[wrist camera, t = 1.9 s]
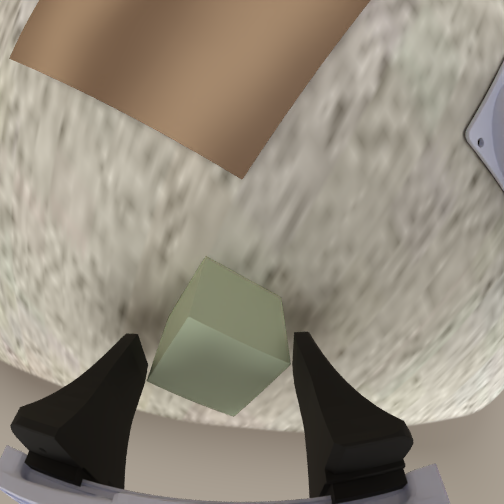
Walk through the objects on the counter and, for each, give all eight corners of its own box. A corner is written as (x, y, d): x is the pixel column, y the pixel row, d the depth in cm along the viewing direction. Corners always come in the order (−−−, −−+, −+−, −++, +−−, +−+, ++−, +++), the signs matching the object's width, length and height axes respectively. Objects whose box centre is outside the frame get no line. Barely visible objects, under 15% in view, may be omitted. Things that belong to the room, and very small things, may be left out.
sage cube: (280, 296, 16) (290, 364, 12) (237, 349, 18) (233, 416, 13) (205, 255, 15) (188, 316, 11) (168, 316, 17) (146, 381, 12)
